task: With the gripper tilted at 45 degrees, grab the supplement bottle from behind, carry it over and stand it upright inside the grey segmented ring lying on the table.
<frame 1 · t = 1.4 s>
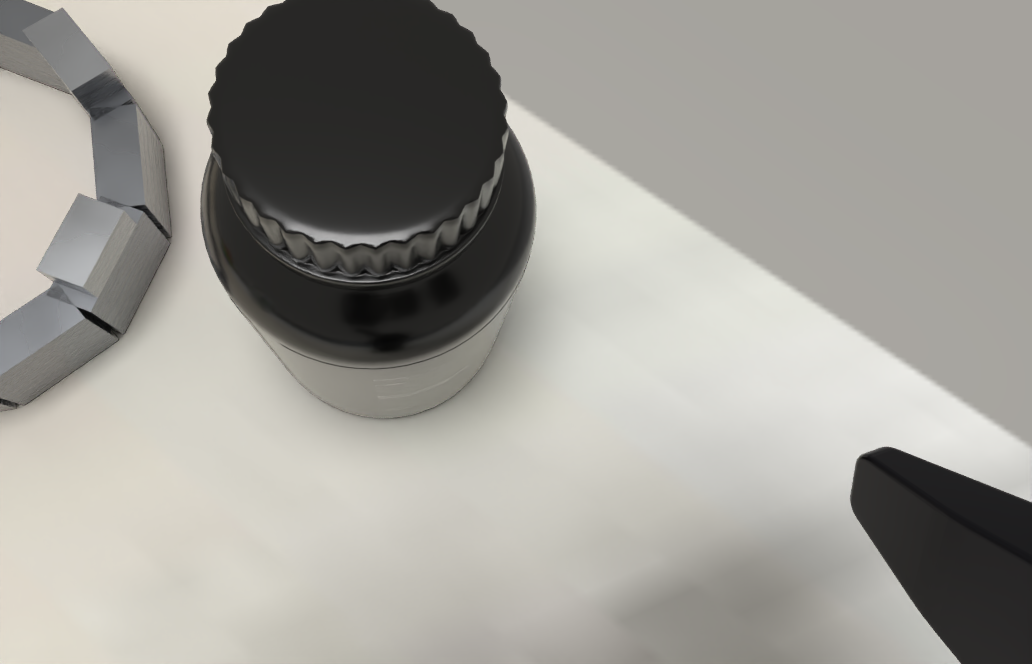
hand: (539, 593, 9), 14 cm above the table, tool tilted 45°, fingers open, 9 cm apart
supplement bottle: (385, 311, 24), on the table
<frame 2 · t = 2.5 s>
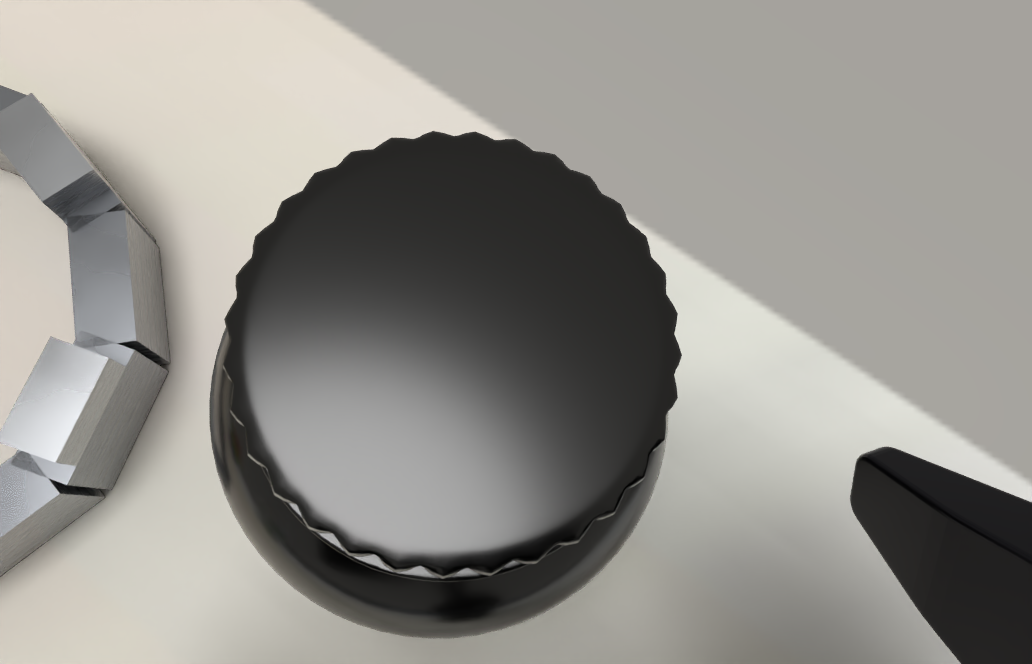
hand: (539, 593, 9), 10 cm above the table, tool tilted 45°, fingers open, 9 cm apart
supplement bottle: (431, 449, 20), on the table
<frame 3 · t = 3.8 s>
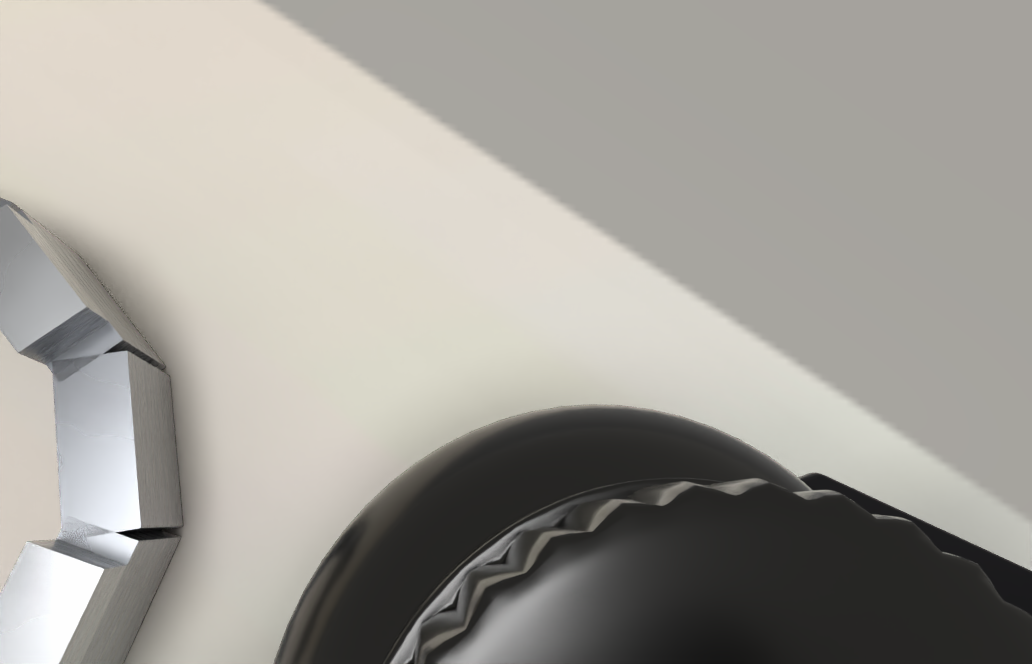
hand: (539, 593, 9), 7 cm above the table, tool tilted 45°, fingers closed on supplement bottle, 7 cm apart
supplement bottle: (507, 630, 16), on the table, touching gripper
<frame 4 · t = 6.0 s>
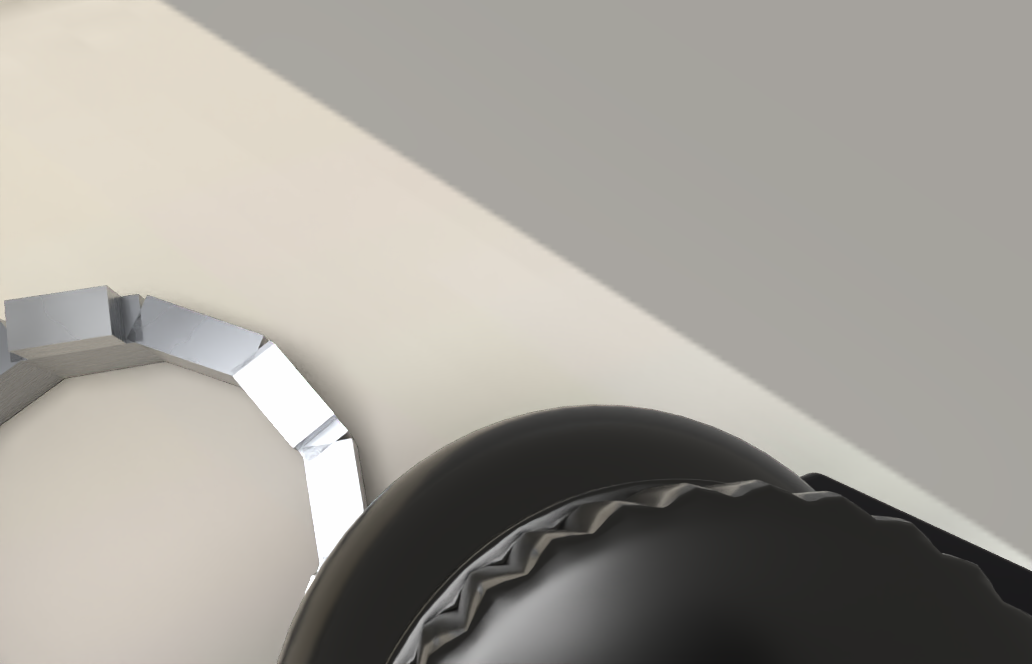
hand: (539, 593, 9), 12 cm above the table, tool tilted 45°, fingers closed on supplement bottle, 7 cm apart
supplement bottle: (510, 628, 16), point 6 cm above the table, touching gripper
grey segmented ring: (134, 548, 20), on the table
when the fingers open (8 cm above the table, at t = 8.2 s): supplement bottle drops 1 cm, resting in grey segmented ring.
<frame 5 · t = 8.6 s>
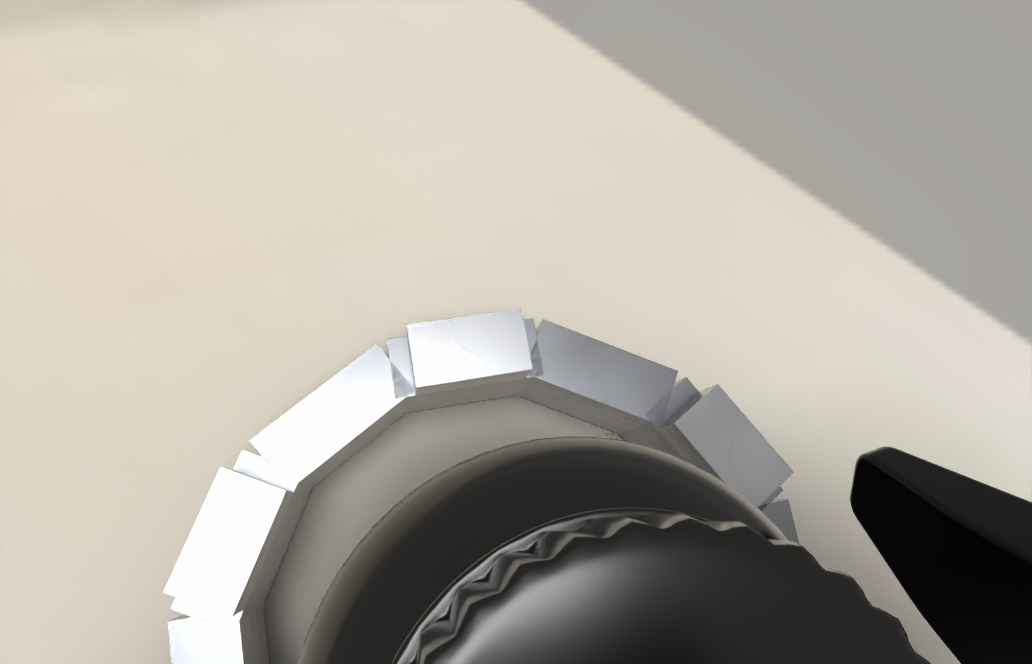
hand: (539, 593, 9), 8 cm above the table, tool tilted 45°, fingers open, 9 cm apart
supplement bottle: (501, 629, 17), resting in grey segmented ring
grey segmented ring: (498, 621, 17), on the table
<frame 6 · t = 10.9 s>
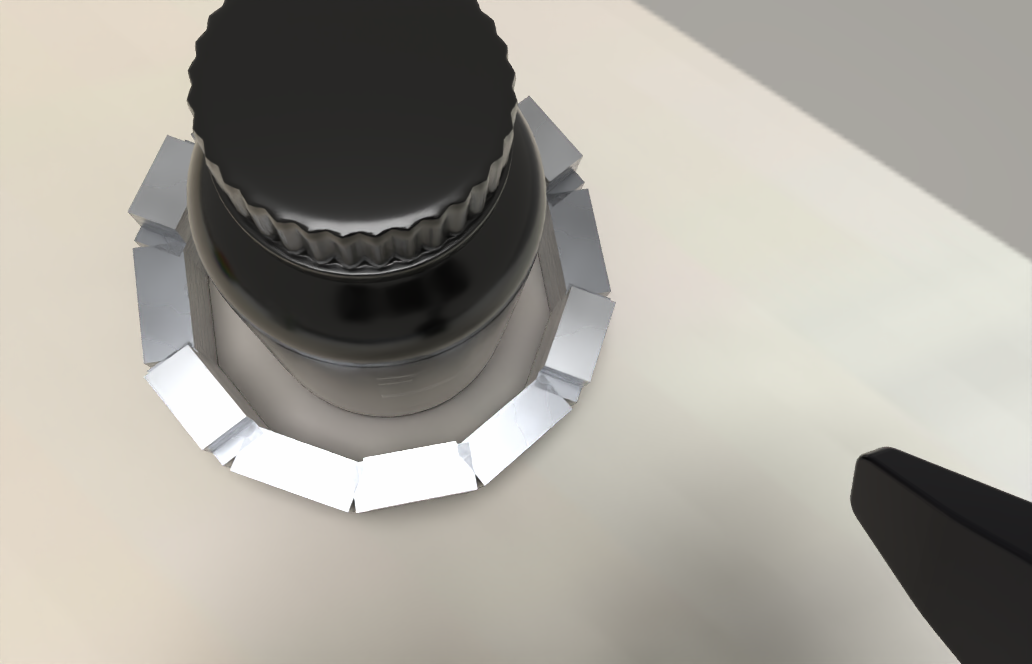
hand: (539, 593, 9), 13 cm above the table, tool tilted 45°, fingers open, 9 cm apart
supplement bottle: (387, 304, 23), resting in grey segmented ring
grey segmented ring: (383, 296, 23), on the table
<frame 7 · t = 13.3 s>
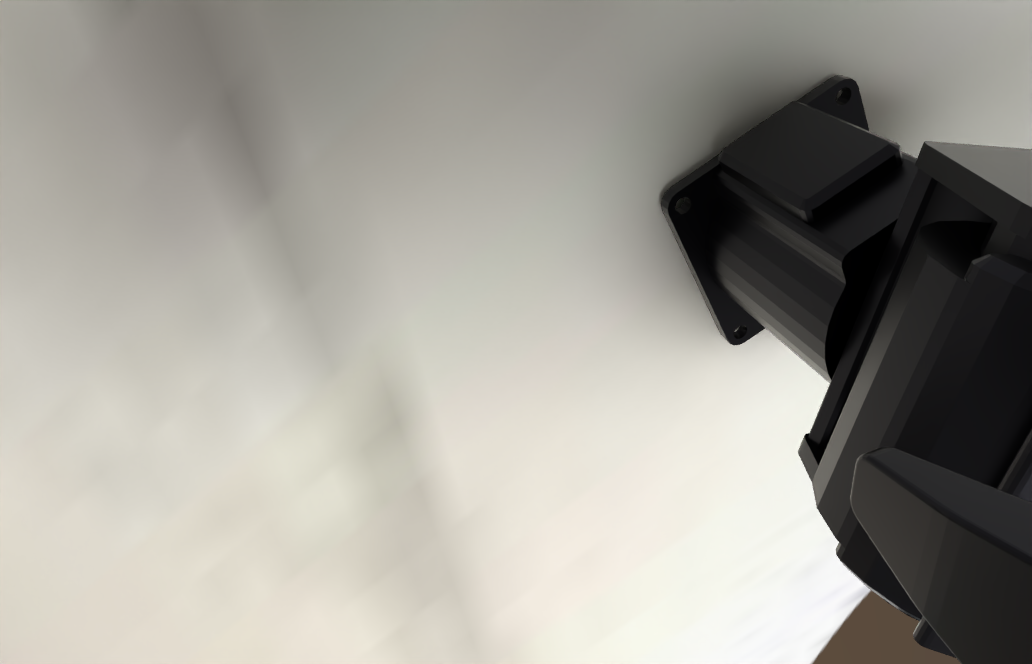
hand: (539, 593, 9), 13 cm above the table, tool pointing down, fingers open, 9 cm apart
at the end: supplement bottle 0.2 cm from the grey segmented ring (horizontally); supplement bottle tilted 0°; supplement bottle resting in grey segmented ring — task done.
